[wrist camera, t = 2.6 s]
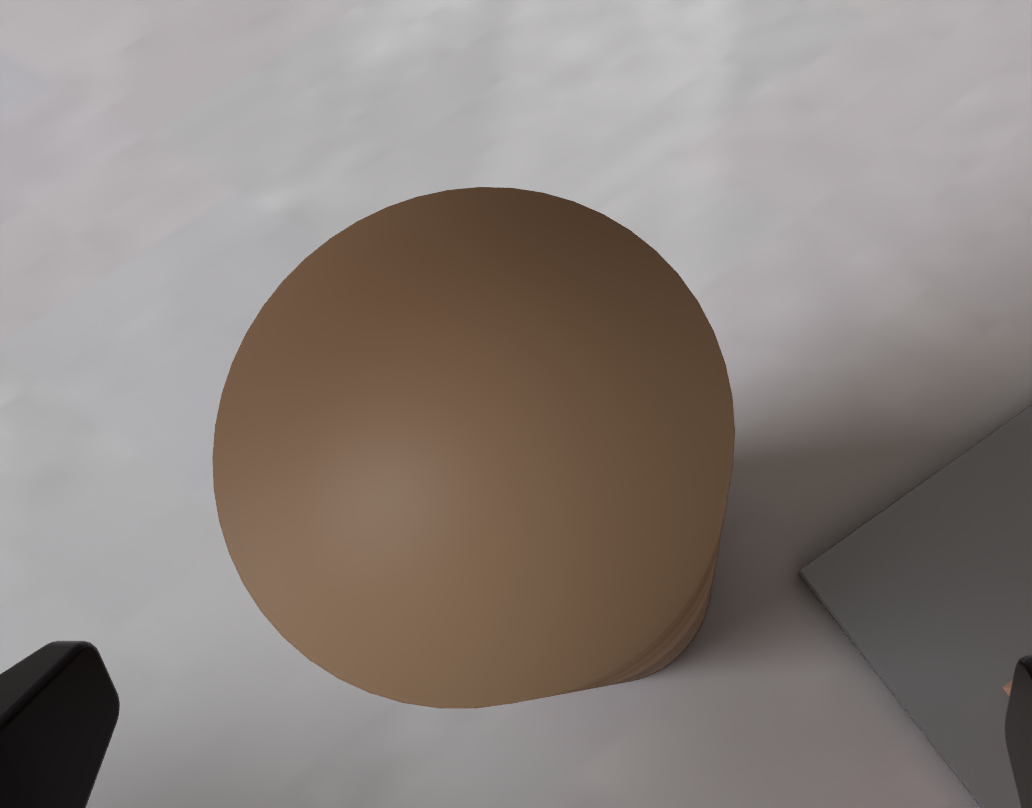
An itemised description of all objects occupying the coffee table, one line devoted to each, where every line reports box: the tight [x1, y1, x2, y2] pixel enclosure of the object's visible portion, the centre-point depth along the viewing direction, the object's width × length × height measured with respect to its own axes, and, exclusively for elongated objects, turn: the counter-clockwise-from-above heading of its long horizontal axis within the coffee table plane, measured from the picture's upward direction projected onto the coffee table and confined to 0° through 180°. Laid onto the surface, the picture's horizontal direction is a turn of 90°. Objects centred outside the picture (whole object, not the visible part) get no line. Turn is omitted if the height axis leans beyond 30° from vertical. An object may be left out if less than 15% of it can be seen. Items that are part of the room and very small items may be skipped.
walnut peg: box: [213, 187, 735, 708], centre depth 13 cm, size 4×4×12 cm
